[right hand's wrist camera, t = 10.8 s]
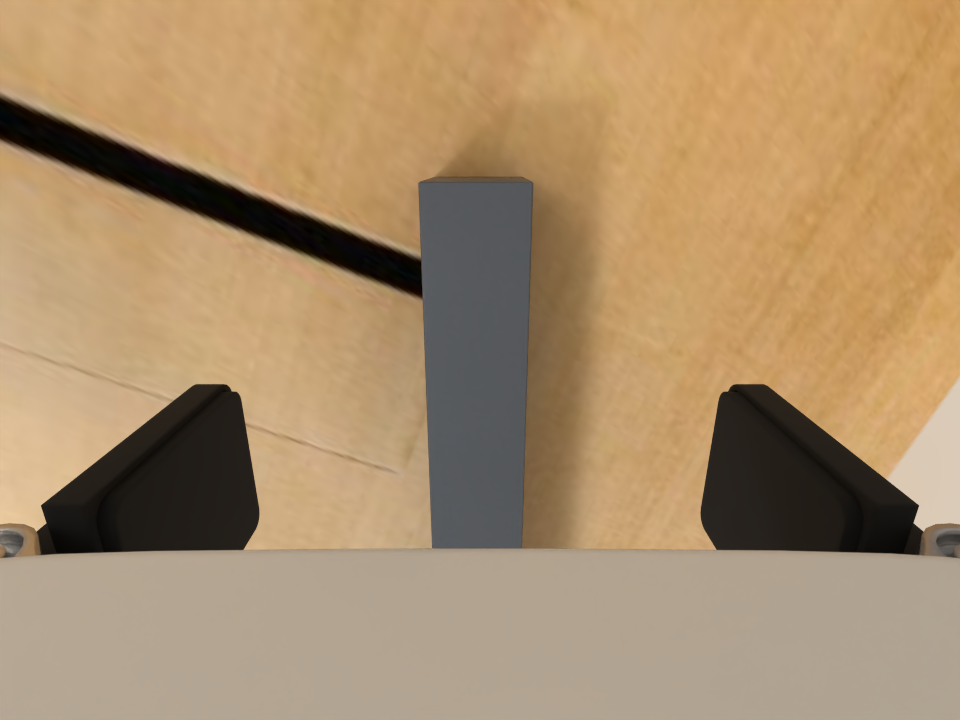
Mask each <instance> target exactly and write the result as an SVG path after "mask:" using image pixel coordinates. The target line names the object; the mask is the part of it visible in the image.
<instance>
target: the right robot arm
mask: <svg viewBox="0 0 960 720" xmlns="http://www.w3.org/2000/svg"><path fill="white" fill-rule="evenodd" d="M41 507H42V510H43V513H44V516H45V519H46V522H47V523H46V524H45V525H44V526H43V527H42V528H40V529H39V530H38V531H37V532H36V531H35V529H34V528H32V527H30V526H27V525H25V524H10V523H9V524H1V525H0V720H960V525H959V524H935V525H933V526H930V527H928V528H926V529H925V531H924V532H923V531H922V530H921V529H920V528H918V527H917V526H916V525H915V524H914V523H913V522H914V519H915V516H916V513H917V510H918V507H919V505H918V504H916V503H915V502H914V501H913V500H911V499H910V498H909V497H908V496H906V495H905V494H904V493H903V492H901V491H900V490H899V489H897V488H896V487H895V486H894V485H892V484H891V483H890V482H889V481H887V480H886V479H885V478H883V477H882V476H881V475H880V474H878V473H877V472H876V471H875V470H873V469H872V468H871V467H870V466H868V465H867V464H866V463H864V462H863V461H862V460H861V459H859V458H858V457H857V456H856V455H854V454H853V453H852V452H851V451H849V450H848V449H847V448H845V447H844V446H843V445H842V444H840V443H839V442H838V441H837V440H835V439H834V438H833V437H831V436H830V435H829V434H828V433H826V432H825V431H824V430H823V429H821V428H820V427H819V426H818V425H816V424H815V423H814V422H812V421H811V420H810V419H809V418H807V417H806V416H805V415H804V414H802V413H801V412H800V411H799V410H797V409H796V408H795V407H793V406H792V405H791V404H790V403H788V402H787V401H786V400H785V399H783V398H782V397H781V396H780V395H778V394H777V393H776V392H774V391H773V390H772V389H771V388H769V387H768V386H766V385H764V384H736V385H733V386H731V387H730V389H729V391H728V392H723V393H722V394H721V395H720V398H719V402H718V408H717V414H716V420H715V426H714V432H713V438H712V444H711V450H710V456H709V462H708V469H707V475H706V481H705V487H704V493H703V499H702V505H701V521H702V525H703V527H704V530H705V531H706V533H707V535H708V536H709V538H710V540H711V541H712V543H713V544H714V546H715V548H716V549H717V550H653V549H297V550H243V549H244V548H245V546H246V544H247V543H248V541H249V540H250V538H251V536H252V535H253V533H254V531H255V530H256V527H257V525H258V521H259V505H258V499H257V493H256V487H255V481H254V475H253V469H252V462H251V456H250V450H249V444H248V438H247V432H246V426H245V420H244V414H243V408H242V402H241V398H240V395H239V394H238V393H237V392H232V391H231V389H230V387H229V386H227V385H224V384H196V385H194V386H192V387H191V388H189V389H188V390H187V391H186V392H184V393H183V394H182V395H180V396H179V397H178V398H177V399H175V400H174V401H173V402H172V403H170V404H169V405H168V406H167V407H165V408H164V409H163V410H161V411H160V412H159V413H158V414H156V415H155V416H154V417H153V418H151V419H150V420H149V421H148V422H146V423H145V424H144V425H142V426H141V427H140V428H139V429H137V430H136V431H135V432H134V433H132V434H131V435H130V436H129V437H127V438H126V439H125V440H123V441H122V442H121V443H120V444H118V445H117V446H116V447H115V448H113V449H112V450H111V451H109V452H108V453H107V454H106V455H104V456H103V457H102V458H101V459H99V460H98V461H97V462H96V463H94V464H93V465H92V466H90V467H89V468H88V469H87V470H85V471H84V472H83V473H82V474H80V475H79V476H78V477H77V478H75V479H74V480H73V481H71V482H70V483H69V484H68V485H66V486H65V487H64V488H63V489H61V490H60V491H59V492H57V493H56V494H55V495H54V496H52V497H51V498H50V499H49V500H47V501H46V502H45V503H44V504H42V505H41Z"/></svg>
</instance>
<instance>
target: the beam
mask: <svg viewBox="0 0 960 720" xmlns="http://www.w3.org/2000/svg"><path fill="white" fill-rule="evenodd" d="M418 184H419V211H420V238H421V264H422V291H423V317H424V344H425V370H426V397H427V423H428V450H429V476H430V503H431V529H432V549H522V527H523V494H524V462H525V429H526V397H527V364H528V332H529V299H530V266H531V234H532V201H533V182H531V181H529V180H527V179H525V178H523V177H433V178H430V179H427V180H424V181H421V182H419V183H418Z"/></svg>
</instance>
